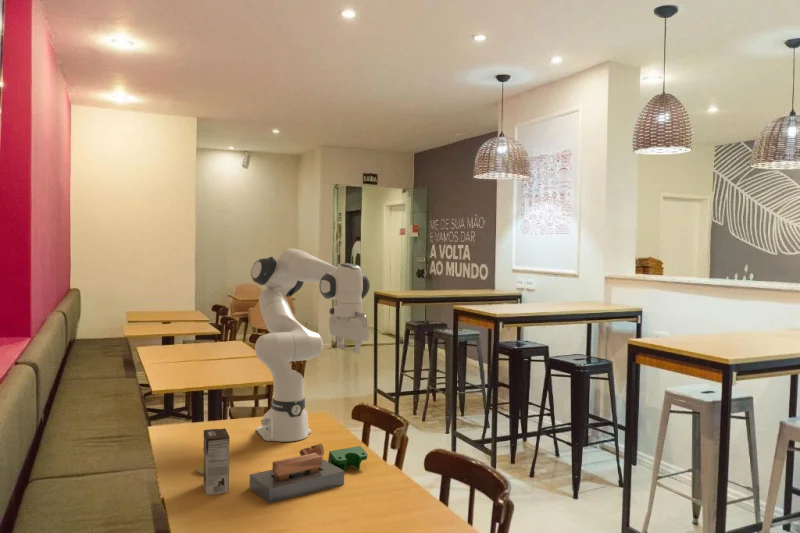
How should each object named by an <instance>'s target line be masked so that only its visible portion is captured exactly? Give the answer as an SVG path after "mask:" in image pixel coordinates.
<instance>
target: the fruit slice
mask: <svg viewBox="0 0 800 533" xmlns="http://www.w3.org/2000/svg"><path fill="white" fill-rule="evenodd" d="M312 453H316V454H318V455H320V456H322V457H323V456H324V454H325V450H324V446H323V443H318V444H317V445H316V444H315V445H312V446H310V447H305V448H302V449H300V450H299V454H300V455H299V456H303V455H307V454H312Z"/></svg>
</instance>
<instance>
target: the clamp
mask: <svg viewBox="0 0 800 533" xmlns="http://www.w3.org/2000/svg"><path fill="white" fill-rule="evenodd" d="M367 459H368V452H367V451H366V450H365V449H364V448H363V447H362V446H361V445H357V446H351V447H345V448H341V449H334V450H329V453H328V459H327V462H329V463H331V464H333V465H334V466H336V467H338V468H340V469H342V470H343V471H344V473H346V470H347V467H355V468H356V470H358V471H359V470H360V469H361V463H362V461H366V460H367Z"/></svg>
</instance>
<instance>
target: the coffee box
mask: <svg viewBox="0 0 800 533" xmlns="http://www.w3.org/2000/svg"><path fill="white" fill-rule="evenodd" d="M203 459H204V464H203V474H202V475H203V483H202V484H203V488H204V492H205V495H206V496H211V495H218V494H219V495H221V494H227V493H229V491H230V490H229V489H230V488H229V487H230V486H229V482H230V478H229V477H230V434H229V432H228V431H227V429H226V428H212V429H211V428H210V429H203Z"/></svg>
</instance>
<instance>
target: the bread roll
mask: <svg viewBox="0 0 800 533" xmlns="http://www.w3.org/2000/svg"><path fill="white" fill-rule="evenodd" d="M203 464H204V458H202V459H201V460H200V461H199V462H198V464H197V466H196V471H197V472H198V473H199V474H201V475H203Z"/></svg>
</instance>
